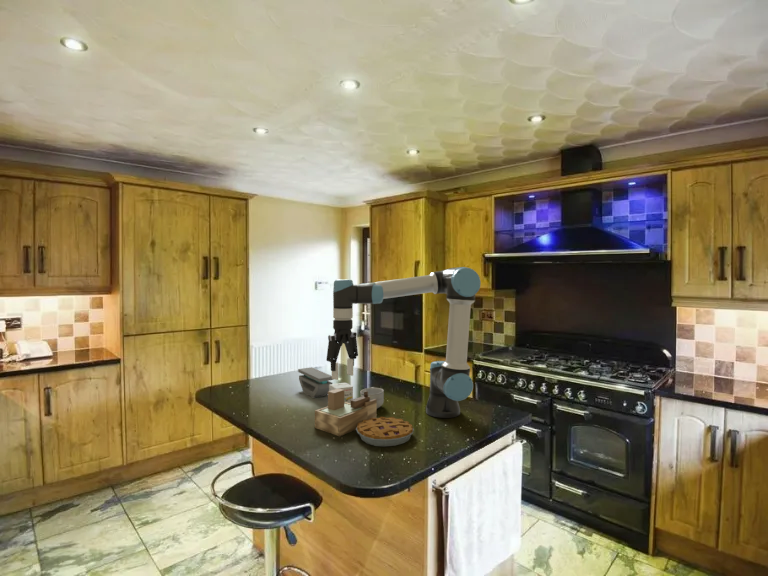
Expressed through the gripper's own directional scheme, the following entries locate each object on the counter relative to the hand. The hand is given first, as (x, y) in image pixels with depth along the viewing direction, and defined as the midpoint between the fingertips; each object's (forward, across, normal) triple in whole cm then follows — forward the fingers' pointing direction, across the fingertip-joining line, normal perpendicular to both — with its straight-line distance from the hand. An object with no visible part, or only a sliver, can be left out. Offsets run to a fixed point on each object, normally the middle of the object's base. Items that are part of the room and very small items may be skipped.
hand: (342, 376), depth 165 cm
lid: (+15, -3, -4) cm, 16 cm away
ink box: (+22, -17, -18) cm, 33 cm away
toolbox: (+21, -7, -4) cm, 22 cm away
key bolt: (+14, -10, 0) cm, 17 cm away
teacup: (+22, -31, -10) cm, 39 cm away
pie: (+22, -6, +16) cm, 28 cm away
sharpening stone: (+22, -28, -46) cm, 58 cm away
